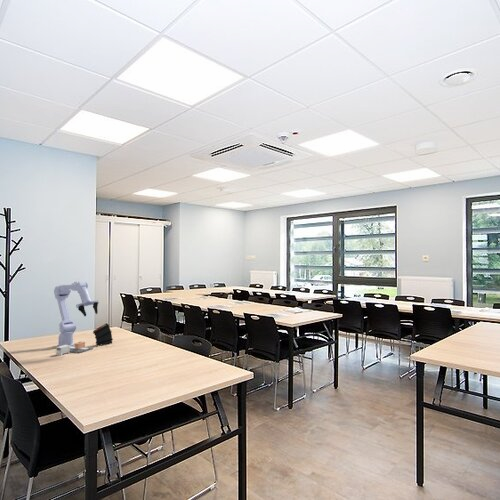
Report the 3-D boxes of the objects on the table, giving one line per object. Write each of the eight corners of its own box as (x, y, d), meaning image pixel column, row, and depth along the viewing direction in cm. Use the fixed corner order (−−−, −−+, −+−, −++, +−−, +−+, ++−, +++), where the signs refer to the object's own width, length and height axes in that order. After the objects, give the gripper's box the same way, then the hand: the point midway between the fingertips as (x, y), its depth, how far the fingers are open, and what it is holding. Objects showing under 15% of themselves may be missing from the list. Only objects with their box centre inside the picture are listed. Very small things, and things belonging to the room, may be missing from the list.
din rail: (56, 350, 243) (56, 346, 243) (70, 346, 254) (70, 342, 254) (79, 353, 236) (79, 348, 237) (93, 349, 248) (93, 344, 248)
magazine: (116, 340, 268) (108, 323, 264) (100, 350, 259) (91, 333, 255) (114, 339, 270) (106, 322, 266) (98, 349, 262) (89, 332, 258)
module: (56, 355, 232) (56, 347, 232) (65, 352, 239) (65, 344, 239) (60, 355, 230) (60, 347, 231) (69, 352, 237) (69, 345, 237)
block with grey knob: (74, 348, 242) (74, 342, 242) (81, 346, 247) (81, 341, 247) (78, 348, 241) (78, 343, 241) (84, 347, 246) (85, 341, 247)
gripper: (75, 296, 241) (81, 314, 236) (97, 292, 251) (103, 309, 246) (73, 301, 245) (79, 319, 240) (94, 297, 255) (100, 314, 251)
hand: (91, 314), depth 244 cm, fingers open, 7 cm apart
